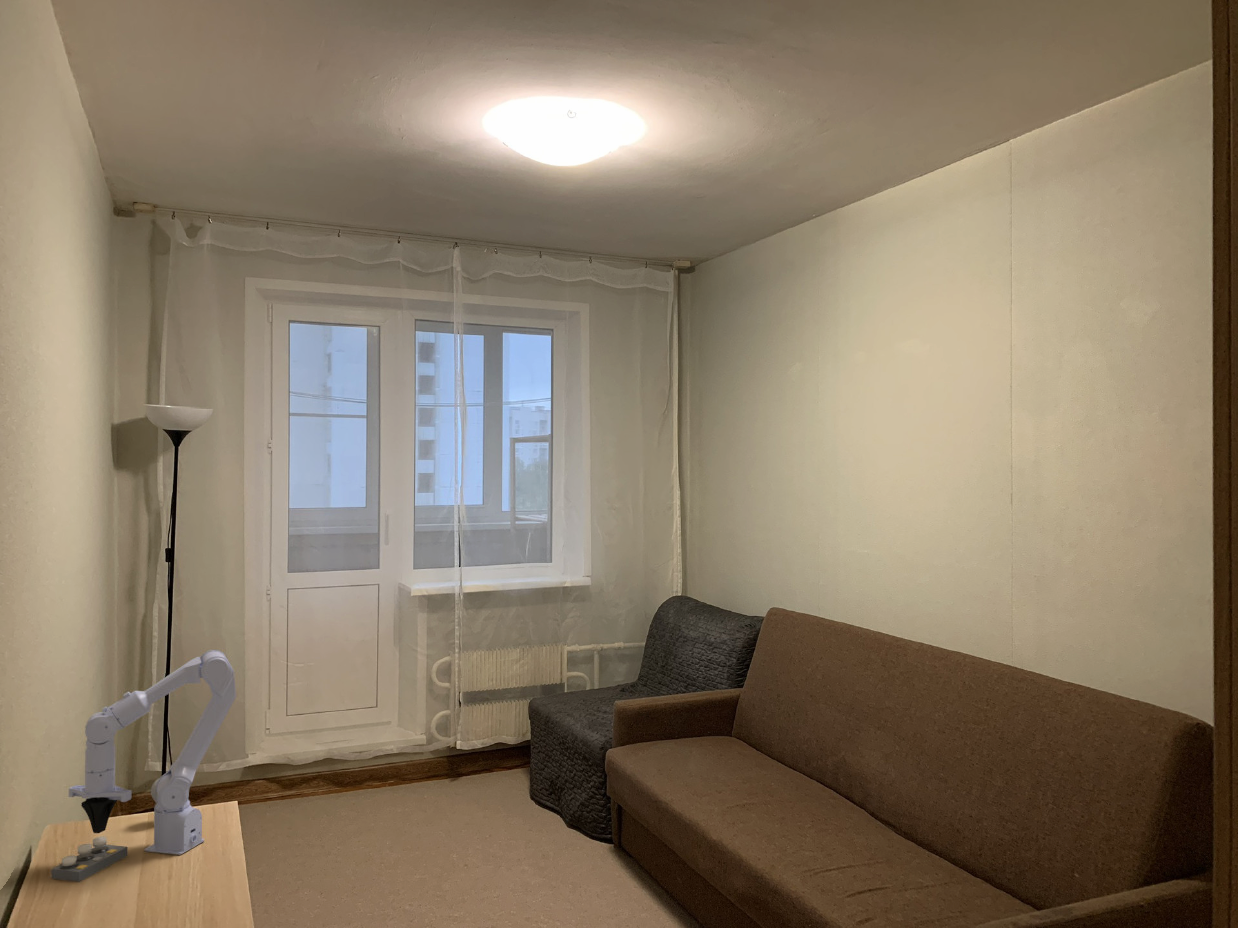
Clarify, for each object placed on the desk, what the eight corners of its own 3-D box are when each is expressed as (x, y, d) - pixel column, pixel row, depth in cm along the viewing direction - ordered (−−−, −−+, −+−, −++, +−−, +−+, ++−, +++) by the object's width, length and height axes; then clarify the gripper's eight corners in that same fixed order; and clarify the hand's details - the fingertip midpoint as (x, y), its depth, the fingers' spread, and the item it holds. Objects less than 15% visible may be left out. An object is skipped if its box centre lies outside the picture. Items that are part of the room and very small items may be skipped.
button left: (79, 861, 186) (79, 855, 186) (69, 866, 183) (69, 861, 184) (69, 860, 187) (69, 854, 187) (58, 865, 184) (58, 860, 184)
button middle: (94, 849, 190) (94, 844, 190) (84, 854, 187) (84, 849, 187) (84, 848, 190) (84, 843, 191) (74, 853, 188) (74, 848, 188)
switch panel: (127, 855, 195) (127, 845, 195) (79, 881, 182) (79, 871, 182) (100, 853, 196) (100, 843, 196) (51, 878, 184) (51, 867, 184)
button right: (109, 842, 194) (109, 837, 194) (99, 847, 191) (99, 841, 191) (99, 841, 194) (99, 836, 194) (89, 846, 192) (89, 840, 192)
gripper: (57, 772, 191) (56, 835, 191) (114, 777, 188) (113, 841, 187) (83, 762, 198) (82, 823, 197) (138, 767, 195) (138, 829, 194)
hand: (99, 831), depth 193 cm, fingers closed
